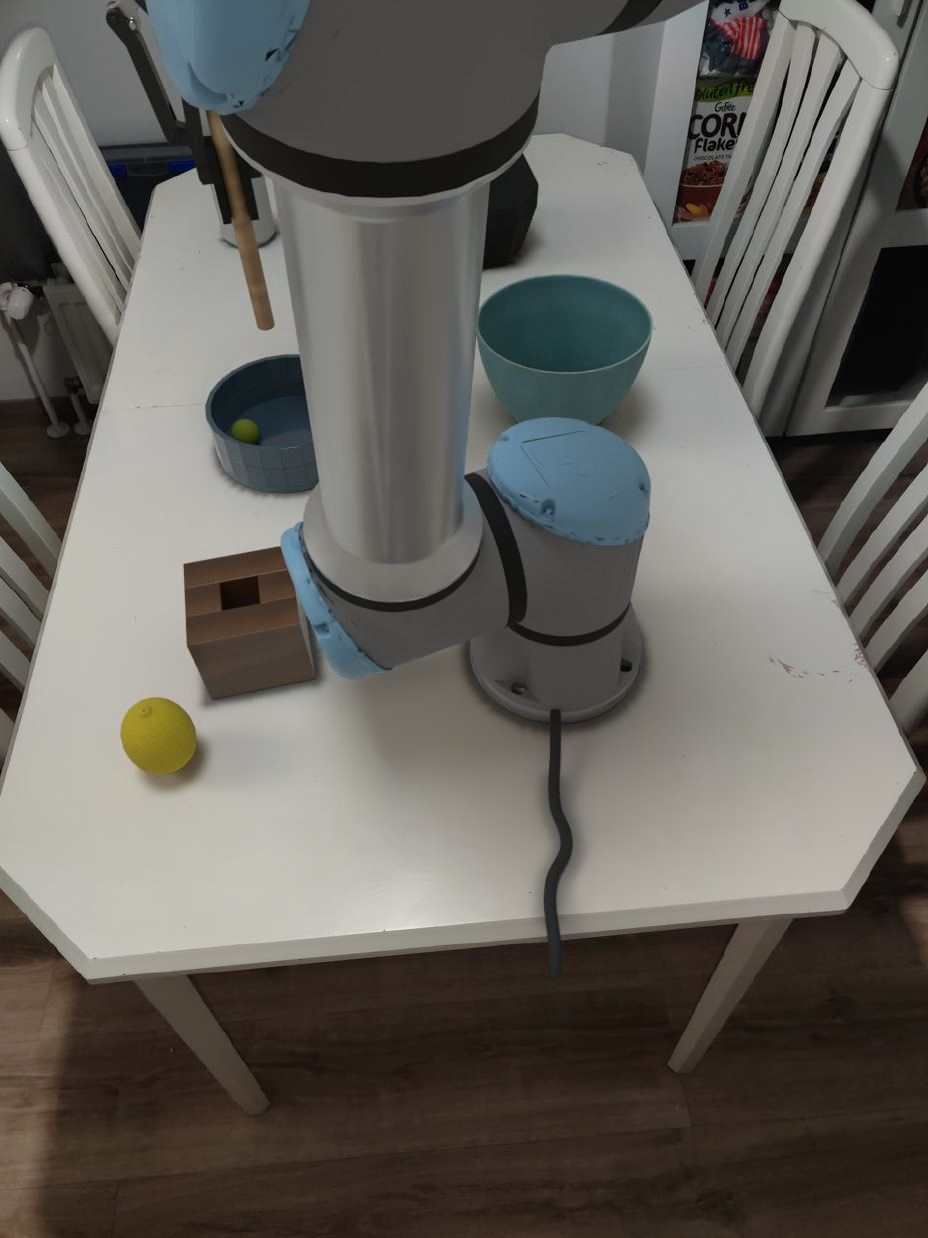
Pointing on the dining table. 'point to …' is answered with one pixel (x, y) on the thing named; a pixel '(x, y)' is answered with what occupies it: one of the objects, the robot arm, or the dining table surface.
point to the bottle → (509, 213)
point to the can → (261, 227)
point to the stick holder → (246, 623)
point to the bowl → (265, 425)
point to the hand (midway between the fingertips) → (240, 214)
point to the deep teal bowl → (562, 346)
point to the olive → (245, 431)
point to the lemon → (158, 735)
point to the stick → (241, 223)
